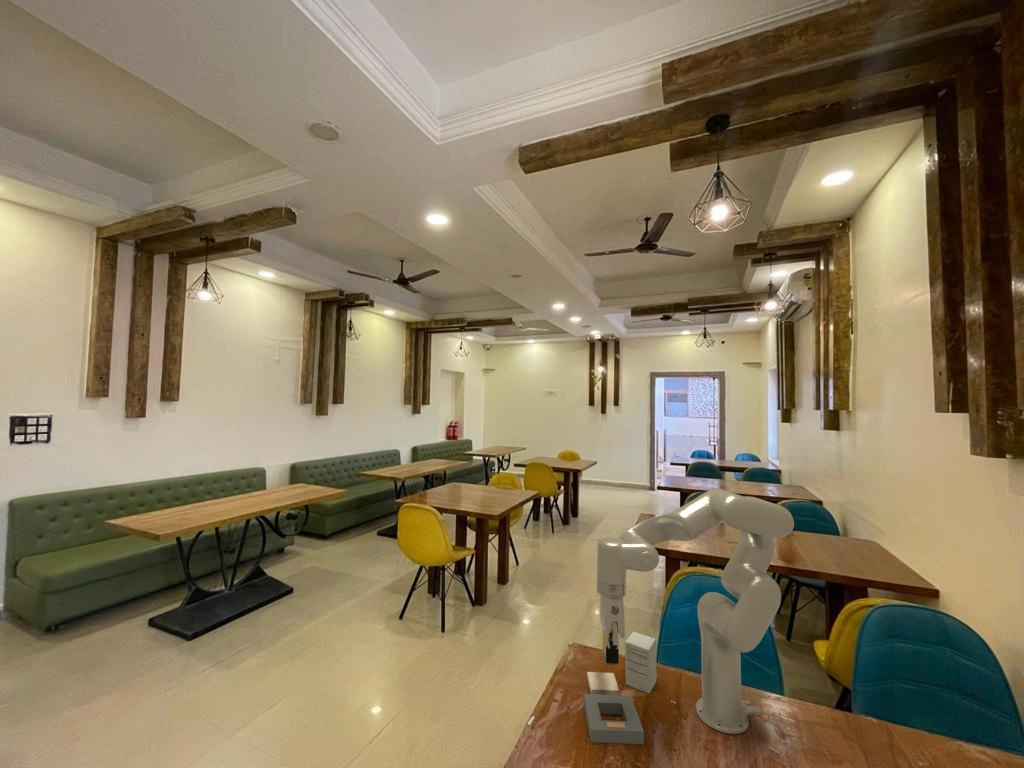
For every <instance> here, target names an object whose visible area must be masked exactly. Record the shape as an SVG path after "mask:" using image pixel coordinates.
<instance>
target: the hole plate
mask: <svg viewBox="0 0 1024 768" xmlns="http://www.w3.org/2000/svg"><path fill="white" fill-rule="evenodd" d="M583 708H584V713H585V718H586V723H587V729H588V735H589V740H590V742H591V743H603V744H607V743H608V744H627V745H645V730H644V728H643V725H642V722H641V720H640V717H639V714H638V712H637V709H636V706H635V703H634V700H633V698H632V695H626V694H624V695H623V694H619V695H601V694H590V693H583ZM602 715H613V716H614V715H616V716H621V717H622V720H604V719H603V720H602Z"/></svg>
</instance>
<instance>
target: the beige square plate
mask: <svg viewBox="0 0 1024 768" xmlns="http://www.w3.org/2000/svg"><path fill="white" fill-rule="evenodd" d="M615 676H616V675H615V673H614V672H598V671H597V672H596V671H595V672H594V671H586V677H587V678H586V680H587V684H588V689H589V694H601V695H620V689H619V686H618V683H617V680H616V677H615Z"/></svg>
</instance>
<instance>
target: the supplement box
mask: <svg viewBox="0 0 1024 768" xmlns="http://www.w3.org/2000/svg"><path fill="white" fill-rule="evenodd" d="M624 645H625V646H624V647H625V651H624V652H625V653H624V654H625V655H624V656H625V661H624V662H625V664H624V666H625V667H624V668H625V671H624V672H625V685H626V686H629V687H631V688H634V689H635V690H638V691H641V692H644V693H646V694H650V693H651V692H652V690H653V688H654V687H655V685H656V682H657V639H656V638H654V637H651V636H649V635H647V634H646V635H645V634H642V633H639V632H636V631H632V632H631V634H630V635H629V636H628V638H627V639H626V640H625V642H624Z"/></svg>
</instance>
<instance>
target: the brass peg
mask: <svg viewBox="0 0 1024 768" xmlns="http://www.w3.org/2000/svg"><path fill="white" fill-rule="evenodd" d="M609 634H612V633H609ZM610 641H612V638H610ZM606 646H607V636H606V635H605V632H604V630H603V629H602V648H601V649H602V650H601V651H602V654H601V655H602V656H601V659H602V662H603V663H604V664H606V665H609V666H614V665H616V664H607V663H606Z"/></svg>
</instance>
